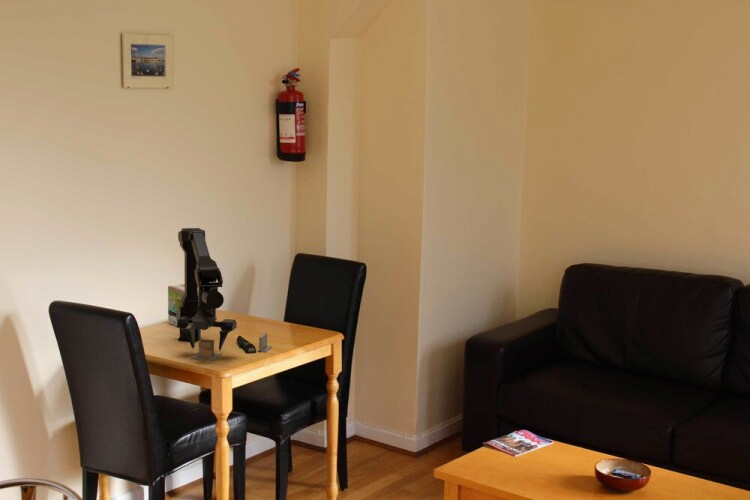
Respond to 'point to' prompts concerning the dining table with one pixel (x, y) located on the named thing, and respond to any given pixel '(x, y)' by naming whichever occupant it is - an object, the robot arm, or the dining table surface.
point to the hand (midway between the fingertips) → (206, 349)
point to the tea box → (174, 301)
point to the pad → (207, 357)
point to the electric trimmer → (246, 345)
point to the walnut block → (206, 348)
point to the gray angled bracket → (263, 343)
